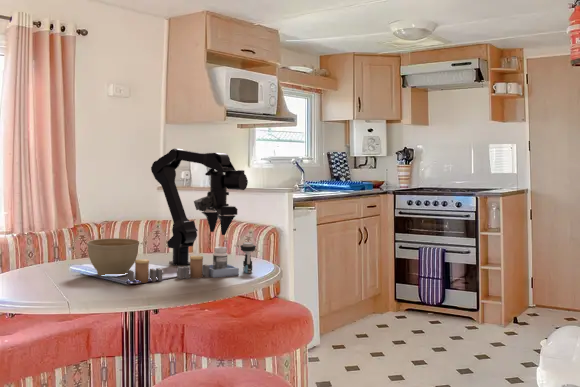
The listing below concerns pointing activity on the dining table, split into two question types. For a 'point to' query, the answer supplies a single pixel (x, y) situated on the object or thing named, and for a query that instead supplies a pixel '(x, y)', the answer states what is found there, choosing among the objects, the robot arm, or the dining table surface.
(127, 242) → the planter bowl
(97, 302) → the dining table surface
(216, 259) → the pill bottle
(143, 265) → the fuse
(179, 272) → the clip row
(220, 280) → the dining table surface
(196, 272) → the tan cylinder
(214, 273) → the tray
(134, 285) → the dining table surface
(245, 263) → the push button
